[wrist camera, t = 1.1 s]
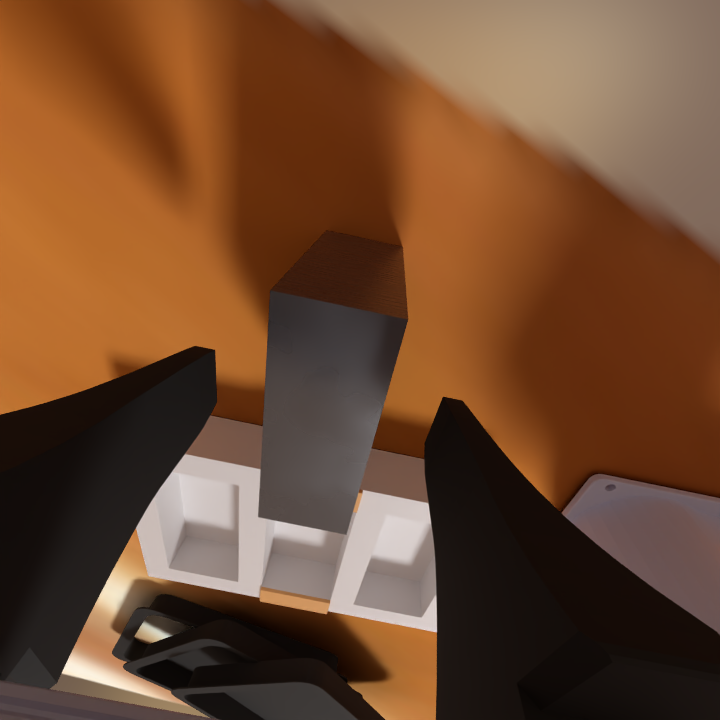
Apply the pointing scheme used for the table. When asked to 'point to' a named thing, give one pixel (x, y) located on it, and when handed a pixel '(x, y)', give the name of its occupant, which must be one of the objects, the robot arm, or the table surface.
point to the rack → (294, 535)
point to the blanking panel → (328, 377)
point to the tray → (239, 668)
